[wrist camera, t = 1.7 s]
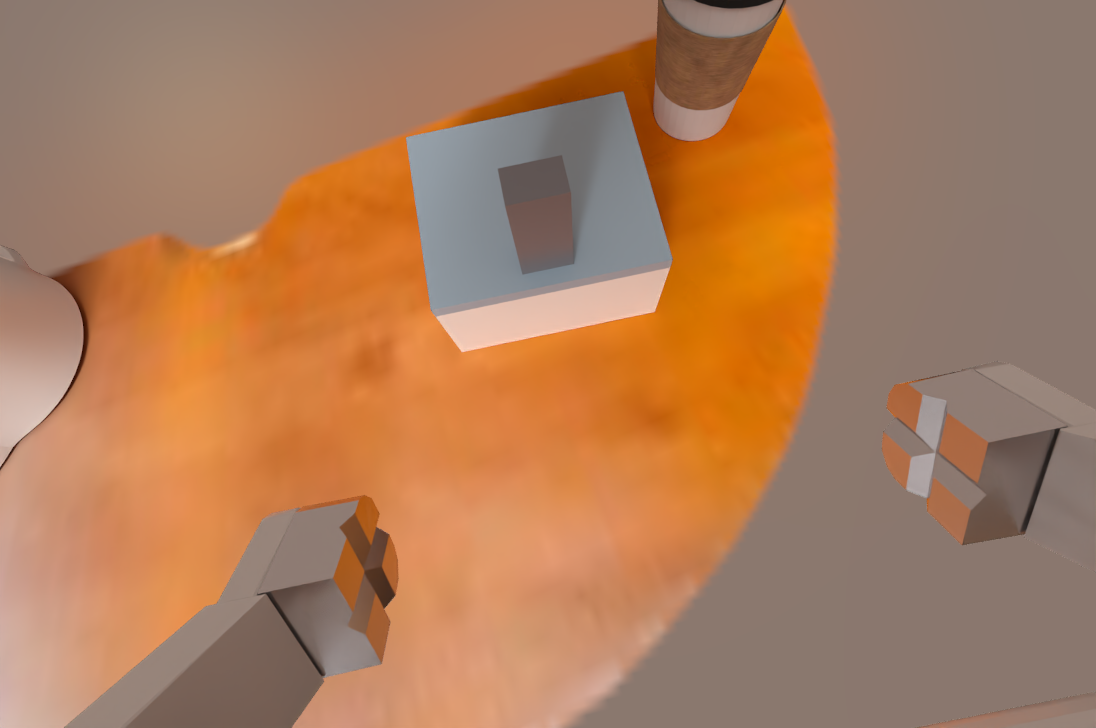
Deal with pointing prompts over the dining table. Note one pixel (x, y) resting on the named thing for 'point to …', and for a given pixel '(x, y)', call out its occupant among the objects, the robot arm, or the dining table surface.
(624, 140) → the lid
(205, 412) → the dining table surface
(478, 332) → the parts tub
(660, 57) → the coffee cup
